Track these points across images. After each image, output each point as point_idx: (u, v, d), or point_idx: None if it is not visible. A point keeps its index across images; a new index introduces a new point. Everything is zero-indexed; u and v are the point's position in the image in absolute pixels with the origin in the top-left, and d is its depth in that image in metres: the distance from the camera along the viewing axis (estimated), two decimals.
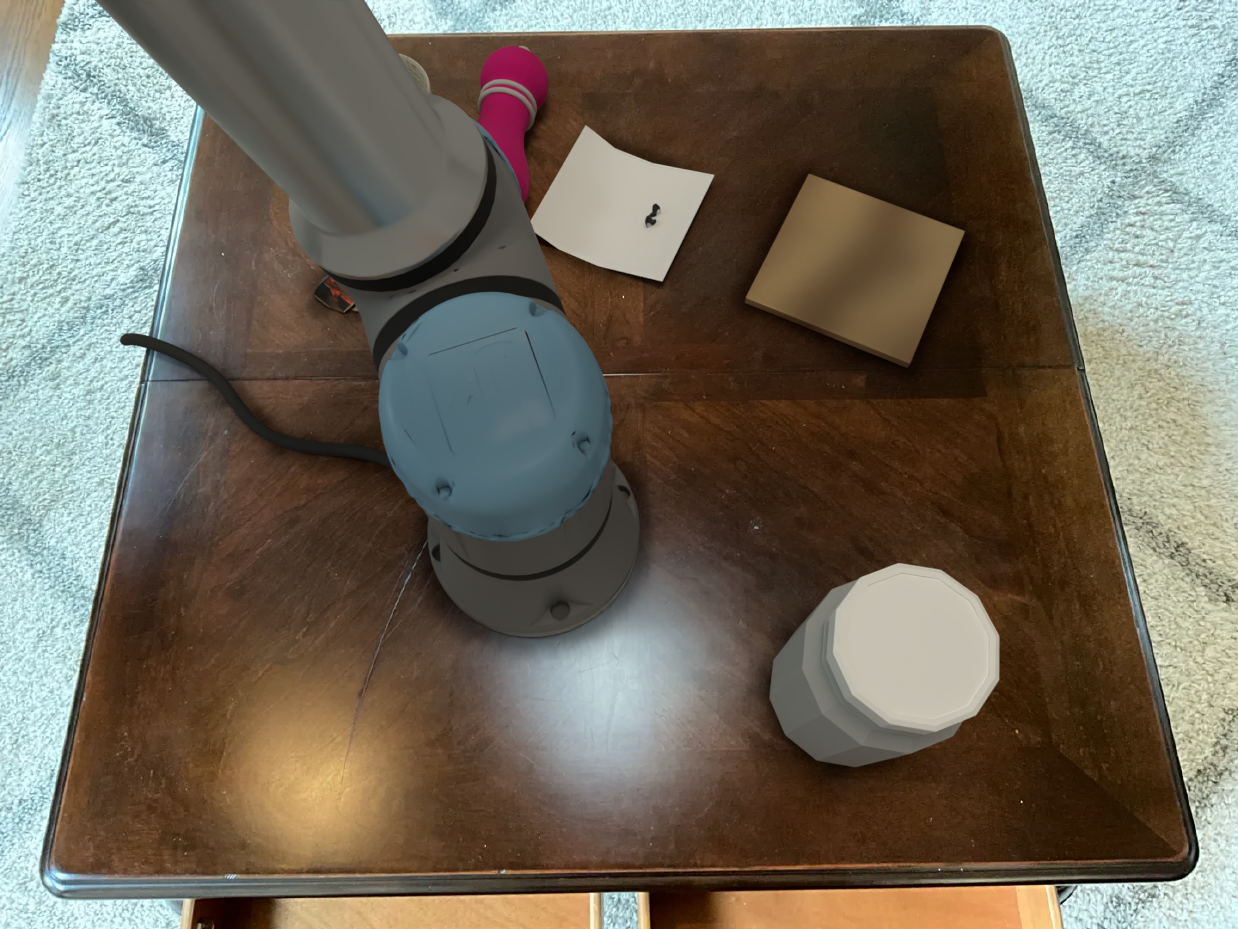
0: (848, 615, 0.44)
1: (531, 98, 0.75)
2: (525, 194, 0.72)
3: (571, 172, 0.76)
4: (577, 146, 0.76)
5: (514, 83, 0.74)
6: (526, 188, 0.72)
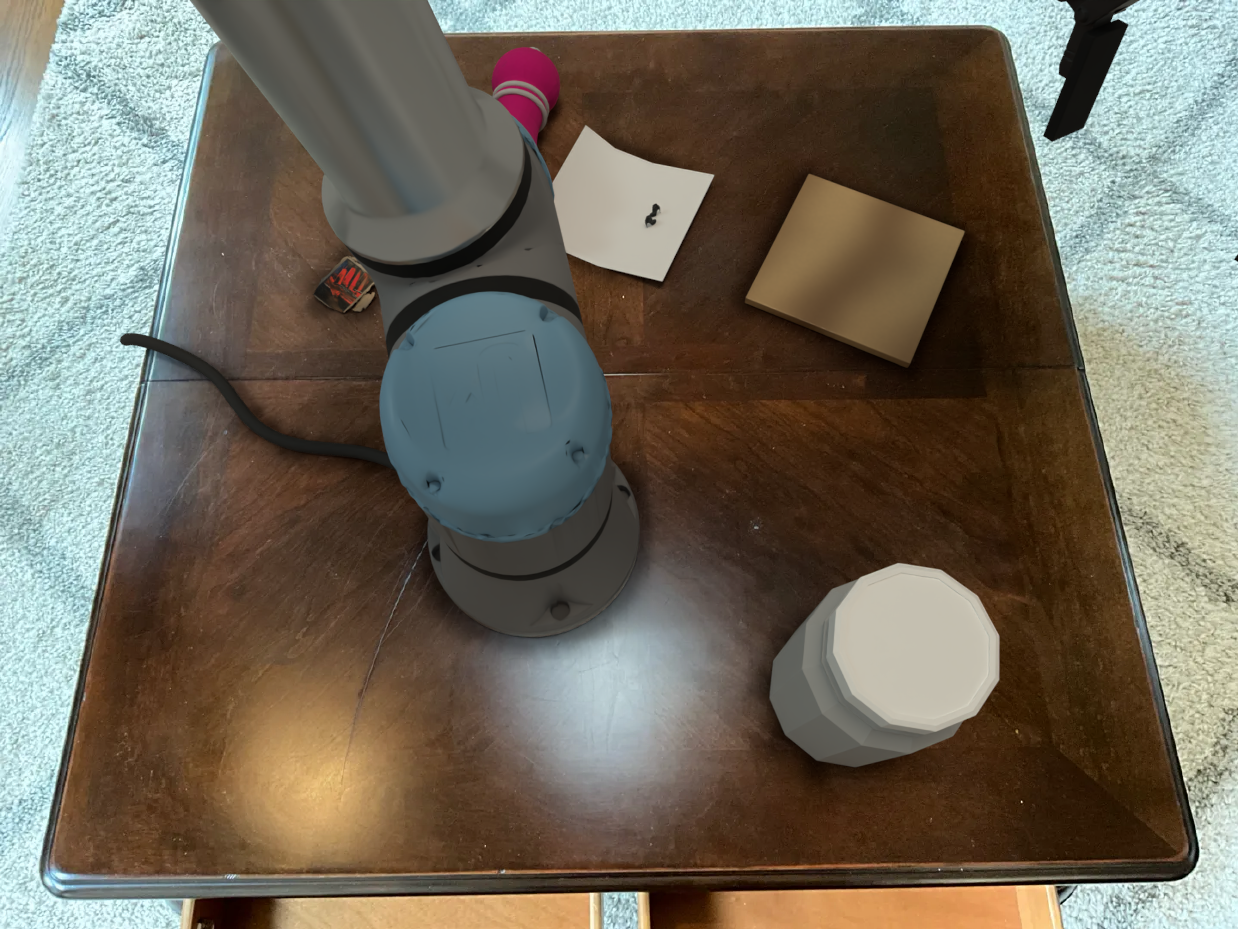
0: (848, 615, 0.44)
1: (547, 107, 0.76)
2: None
3: (571, 172, 0.76)
4: (577, 146, 0.76)
5: (536, 89, 0.74)
6: None
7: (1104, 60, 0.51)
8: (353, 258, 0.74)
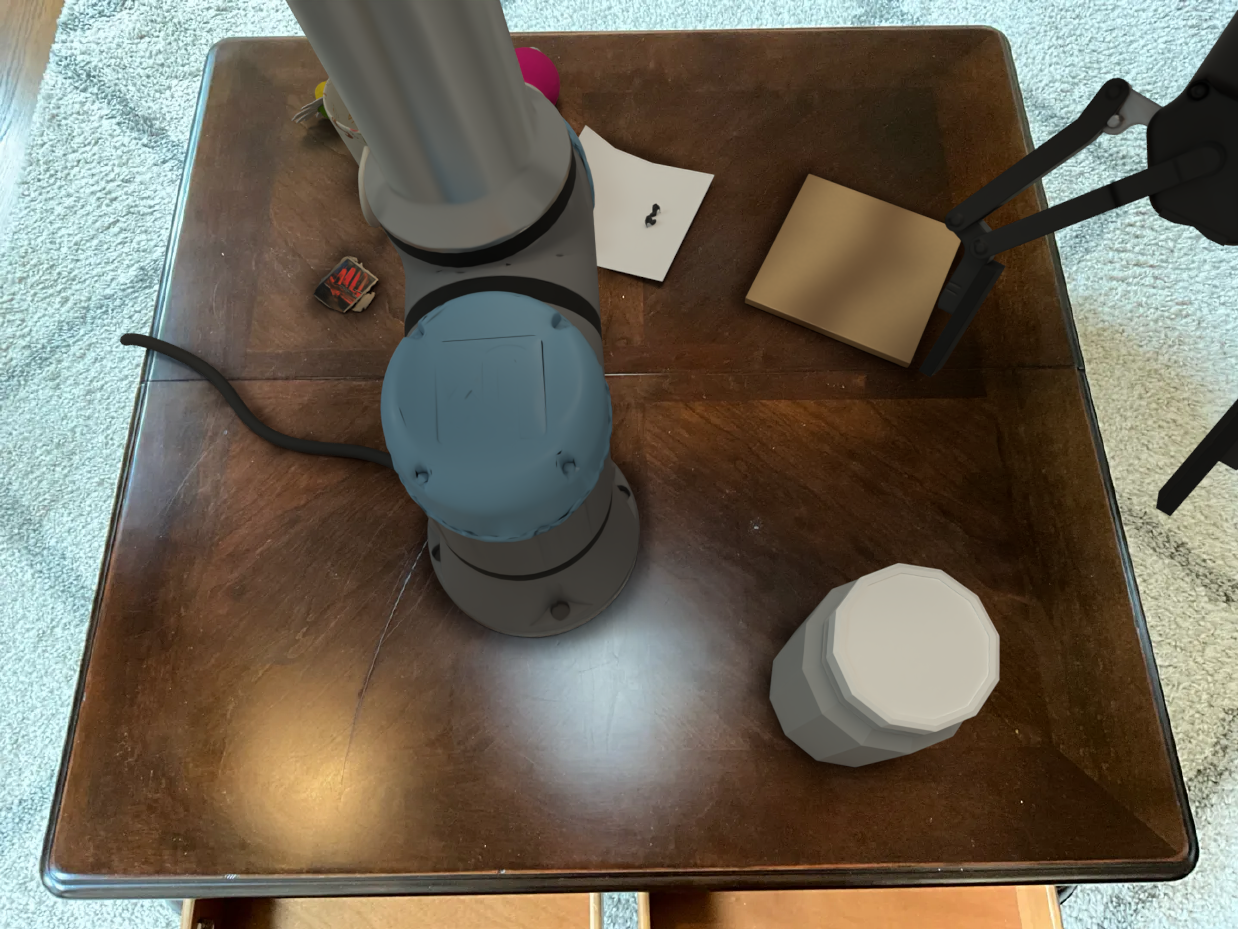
0: (848, 615, 0.44)
1: None
2: None
3: None
4: None
5: (536, 89, 0.74)
6: None
7: (983, 298, 0.48)
8: (353, 258, 0.74)
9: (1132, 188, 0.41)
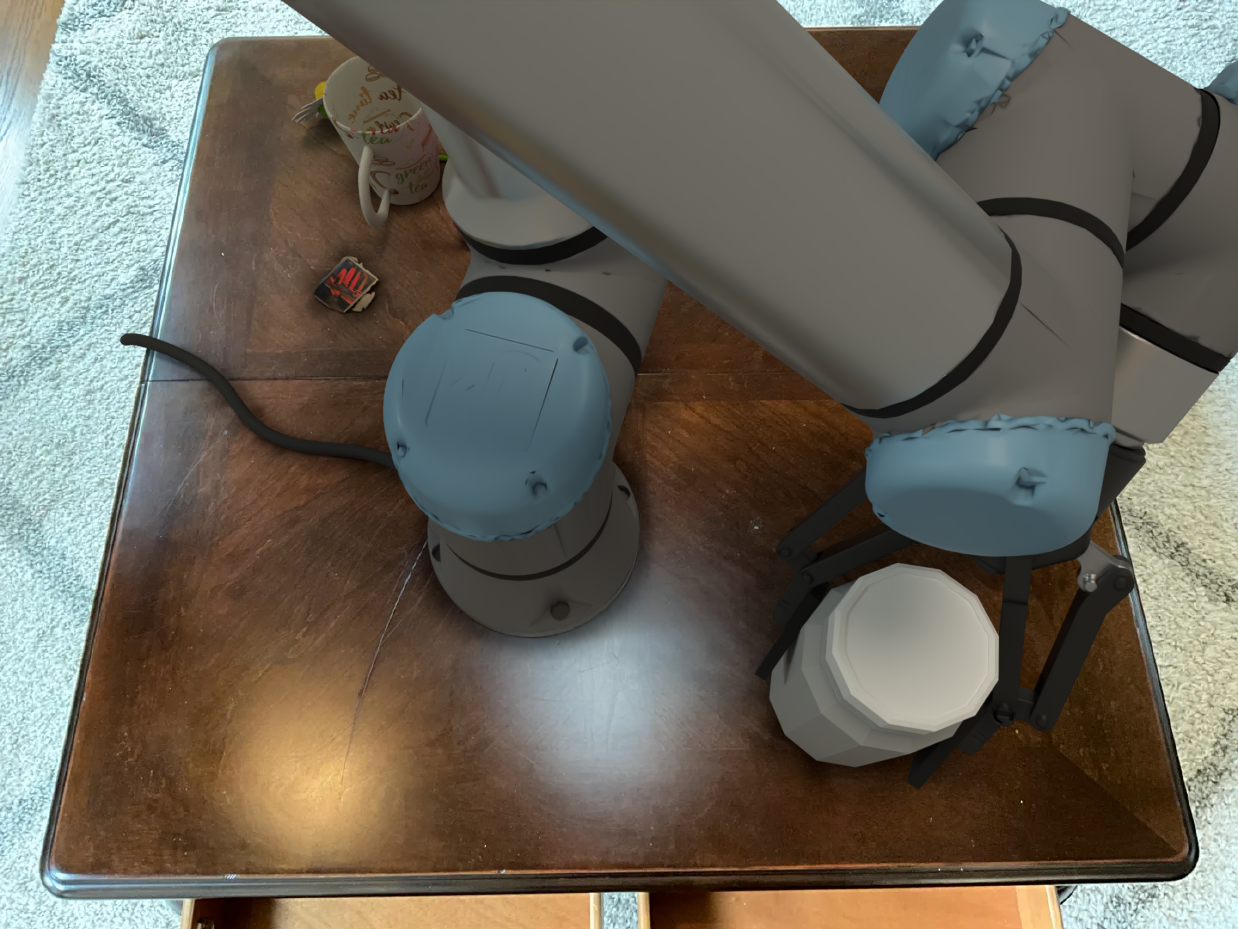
0: (847, 615, 0.44)
1: None
2: None
3: None
4: None
5: None
6: None
7: None
8: (353, 258, 0.74)
9: None
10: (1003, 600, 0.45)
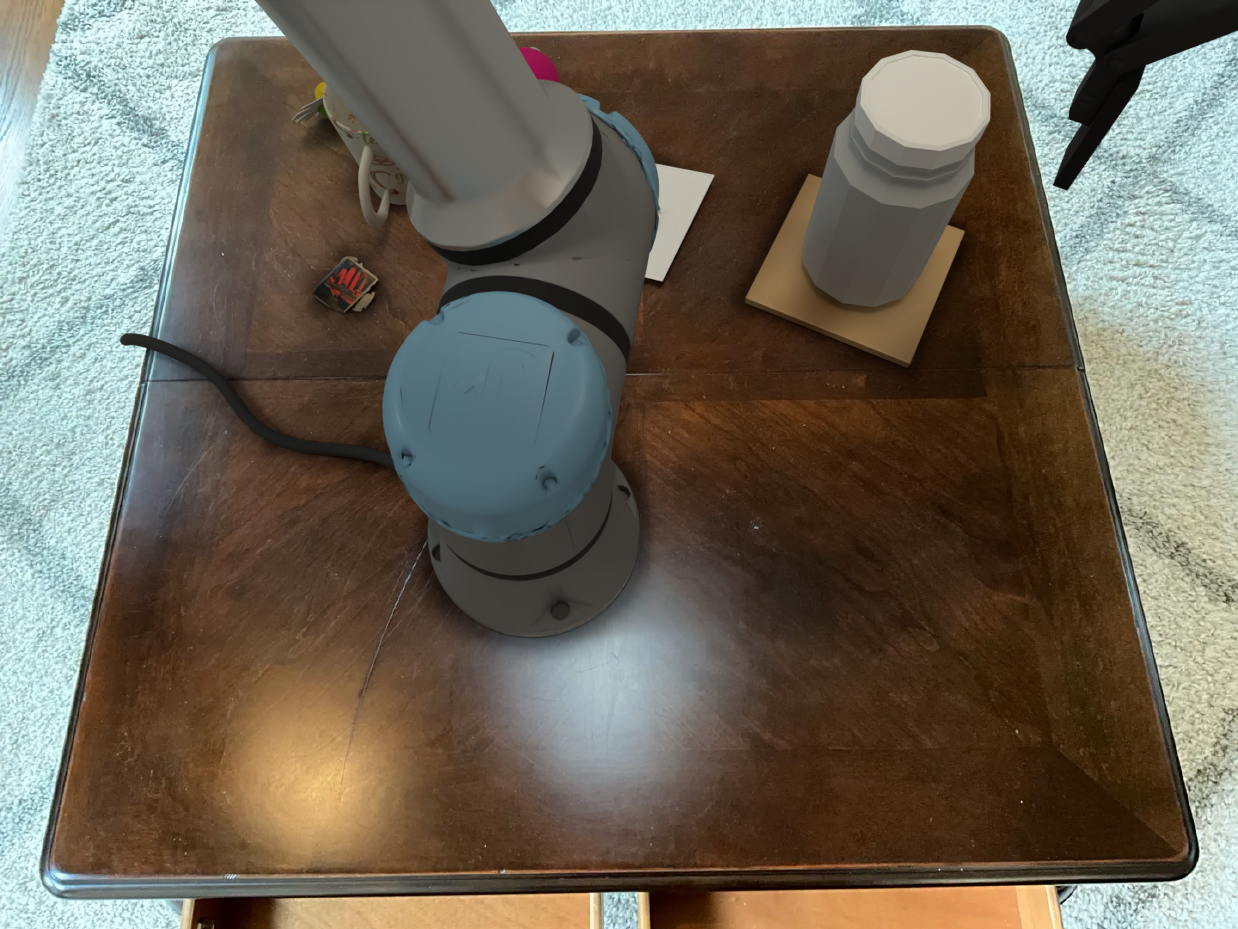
0: (941, 61, 0.57)
1: None
2: None
3: None
4: None
5: None
6: None
7: None
8: (353, 258, 0.74)
9: None
10: None
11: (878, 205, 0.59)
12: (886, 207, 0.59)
